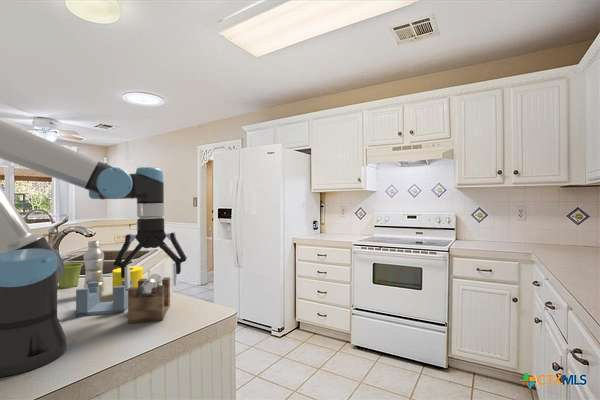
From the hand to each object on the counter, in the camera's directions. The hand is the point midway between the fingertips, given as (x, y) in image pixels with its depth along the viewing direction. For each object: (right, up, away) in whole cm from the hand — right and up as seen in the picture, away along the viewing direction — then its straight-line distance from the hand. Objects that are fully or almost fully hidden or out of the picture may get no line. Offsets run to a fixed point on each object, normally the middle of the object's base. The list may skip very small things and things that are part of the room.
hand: (152, 286), depth 93 cm
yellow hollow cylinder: (-19, -9, +20) cm, 29 cm away
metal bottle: (-31, -9, +19) cm, 37 cm away
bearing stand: (0, -9, 0) cm, 8 cm away
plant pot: (-49, -9, +31) cm, 59 cm away
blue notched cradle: (-17, -9, +4) cm, 19 cm away
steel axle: (0, -2, 0) cm, 1 cm away
